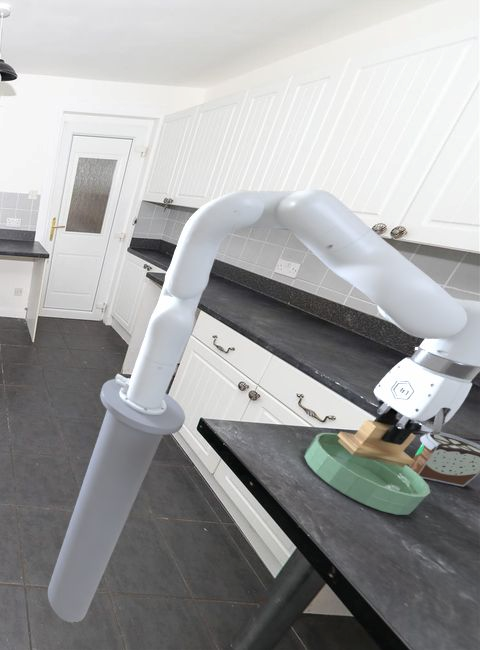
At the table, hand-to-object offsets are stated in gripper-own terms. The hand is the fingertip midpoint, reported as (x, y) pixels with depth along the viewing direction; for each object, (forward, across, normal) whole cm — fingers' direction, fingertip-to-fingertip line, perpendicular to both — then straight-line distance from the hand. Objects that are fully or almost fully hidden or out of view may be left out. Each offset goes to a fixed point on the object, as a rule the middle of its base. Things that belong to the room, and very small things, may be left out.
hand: (384, 436), depth 70 cm
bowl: (+13, 0, +1) cm, 13 cm away
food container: (+13, -10, +22) cm, 28 cm away
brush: (+5, 0, 0) cm, 5 cm away
